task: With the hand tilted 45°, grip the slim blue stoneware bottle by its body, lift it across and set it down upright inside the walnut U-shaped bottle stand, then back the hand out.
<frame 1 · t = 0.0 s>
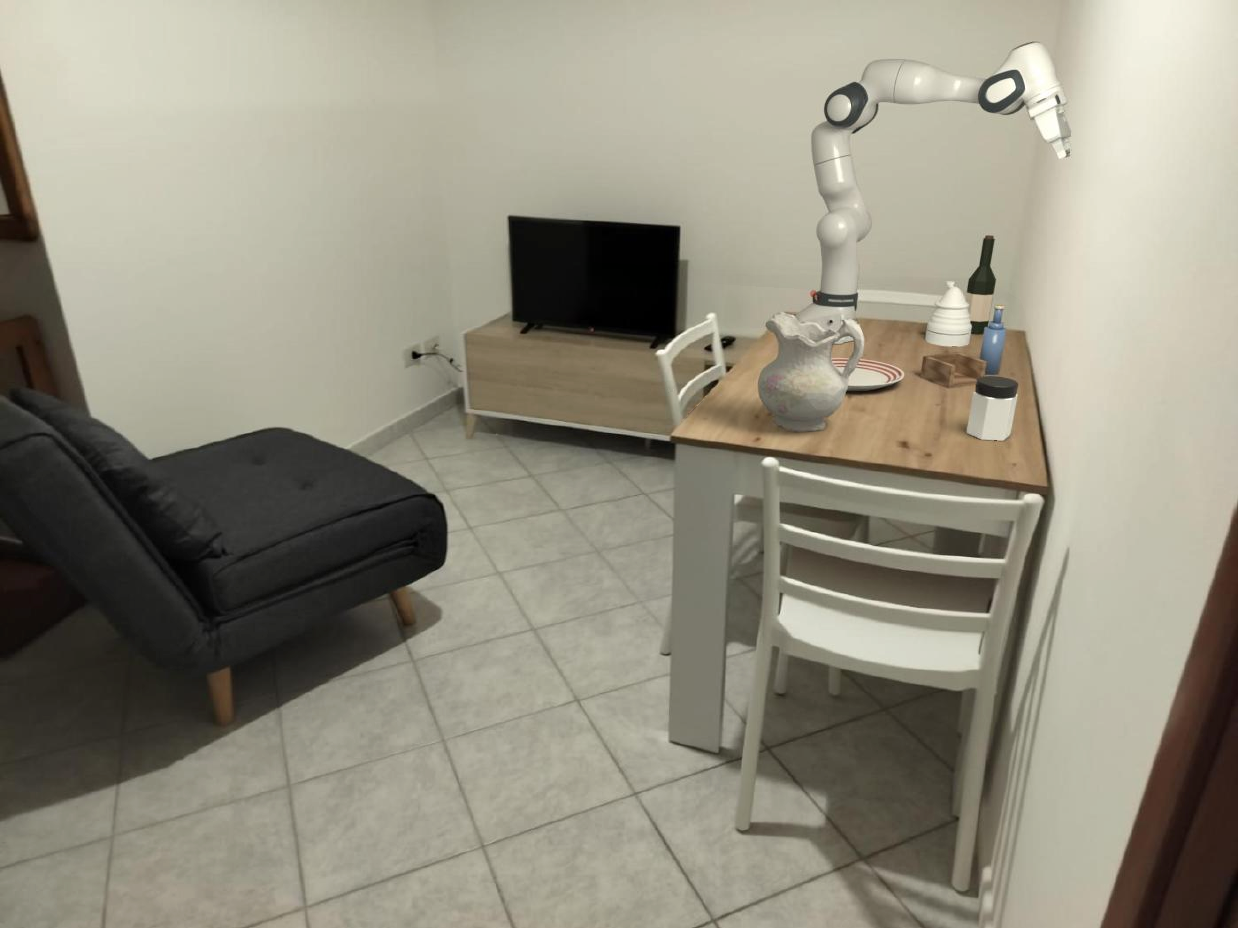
hand: (1066, 157, 211), 54 cm above the table, tool tilted 30°, fingers open, 8 cm apart
bottle: (987, 372, 225), on the table
dinner plate: (847, 382, 218), on the table
jar: (987, 435, 180), on the table
ceramic pitcher: (803, 424, 187), on the table
holder: (951, 380, 218), on the table
honey pot: (946, 342, 256), on the table
wine bottle: (973, 332, 268), on the table
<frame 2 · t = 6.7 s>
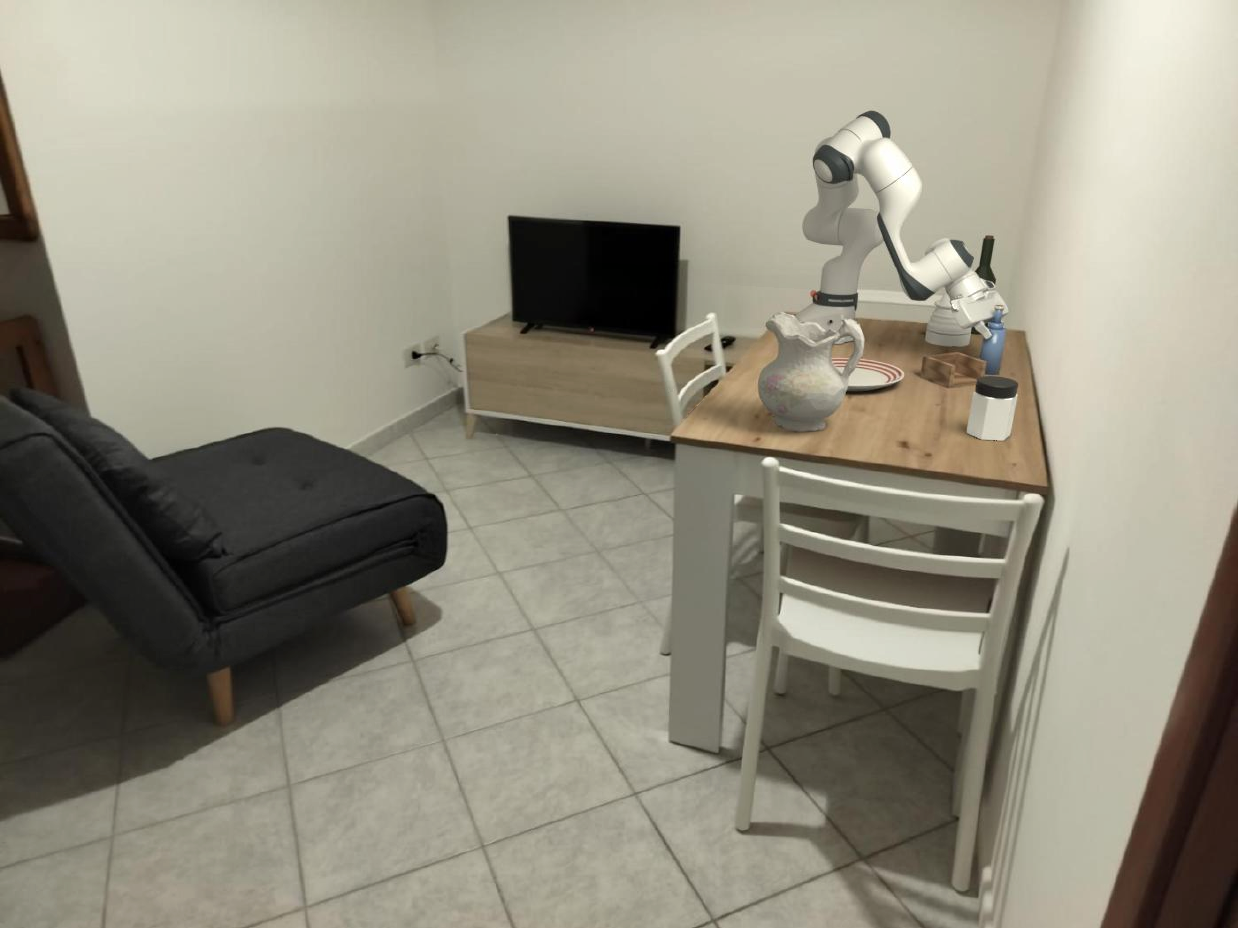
hand: (996, 335, 221), 10 cm above the table, tool tilted 45°, fingers closed on bottle, 5 cm apart
bottle: (987, 372, 225), on the table, touching gripper
everything else where it was.
when the fingers open (12 cm above the table, at t = 12.4 s): bottle drops 1 cm, resting on holder.
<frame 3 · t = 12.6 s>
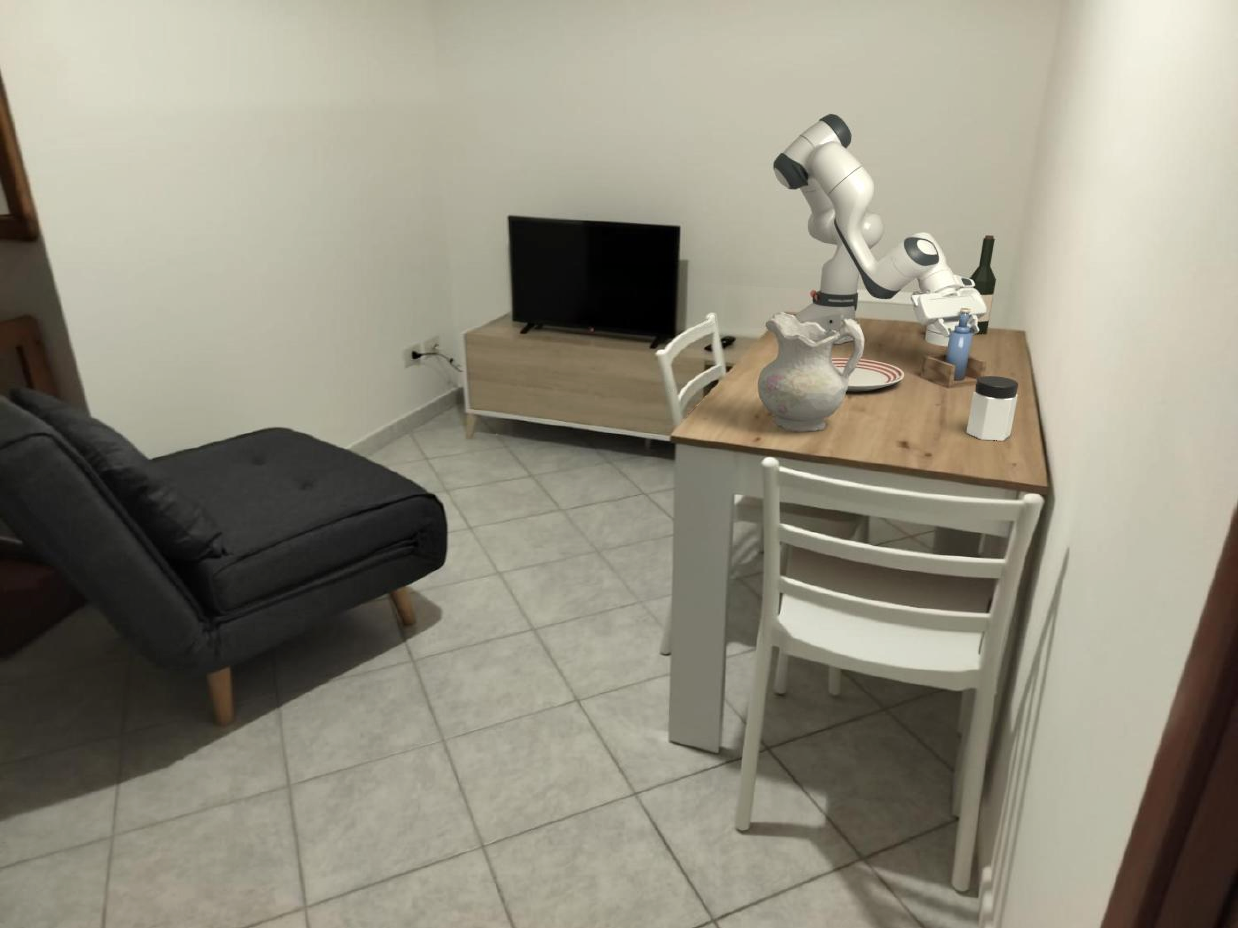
hand: (962, 334, 212), 12 cm above the table, tool tilted 45°, fingers open, 7 cm apart
bottle: (953, 377, 217), point 1 cm above the table, touching holder
everything else where it was.
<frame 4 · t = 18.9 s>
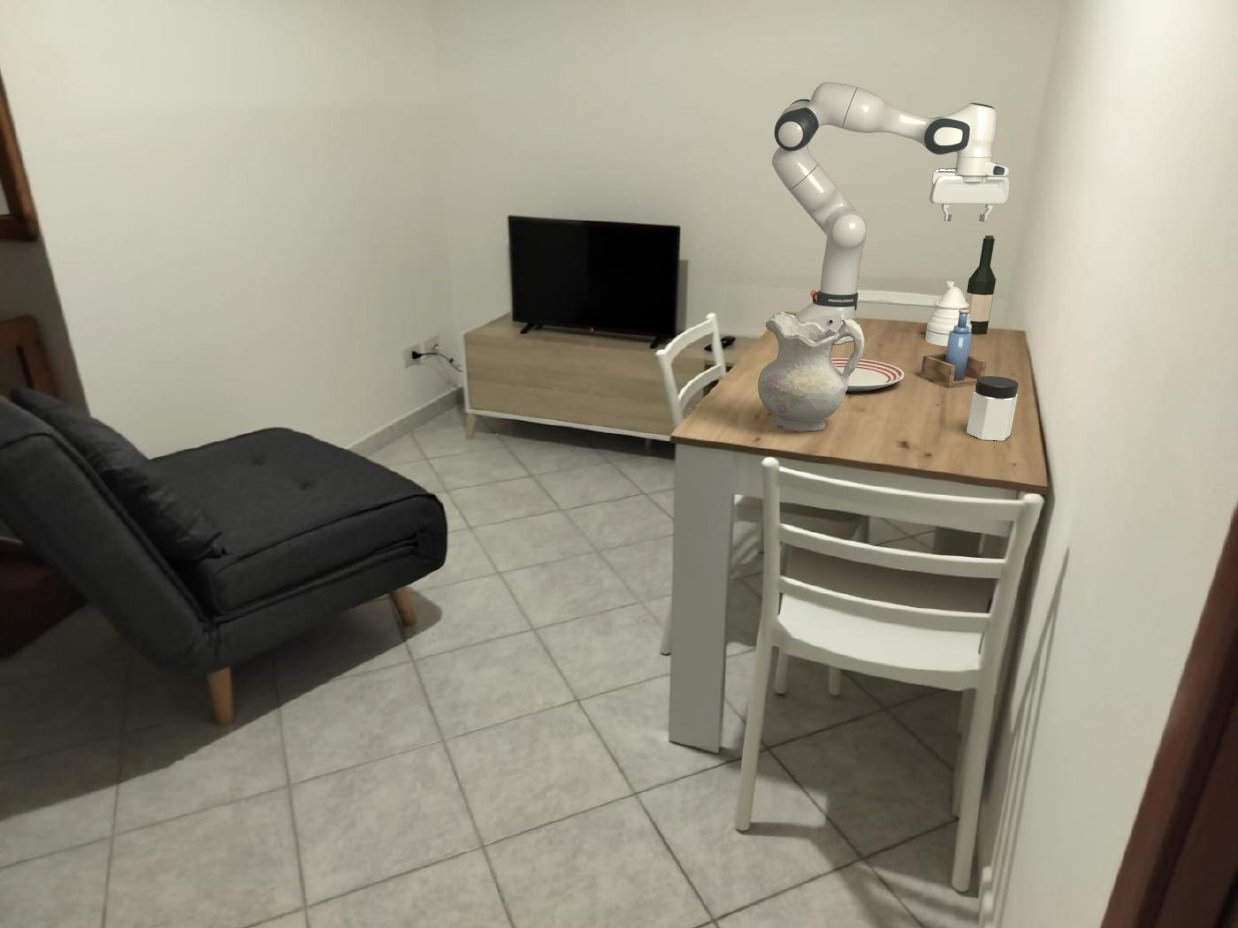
hand: (964, 221, 231), 37 cm above the table, tool pointing down, fingers open, 8 cm apart
nothing on the table moved.
at the end: bottle 0.1 cm off-centre on the holder, point 0.8 cm above the holder's base; bottle tilted 0°; the gripper is holding nothing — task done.
